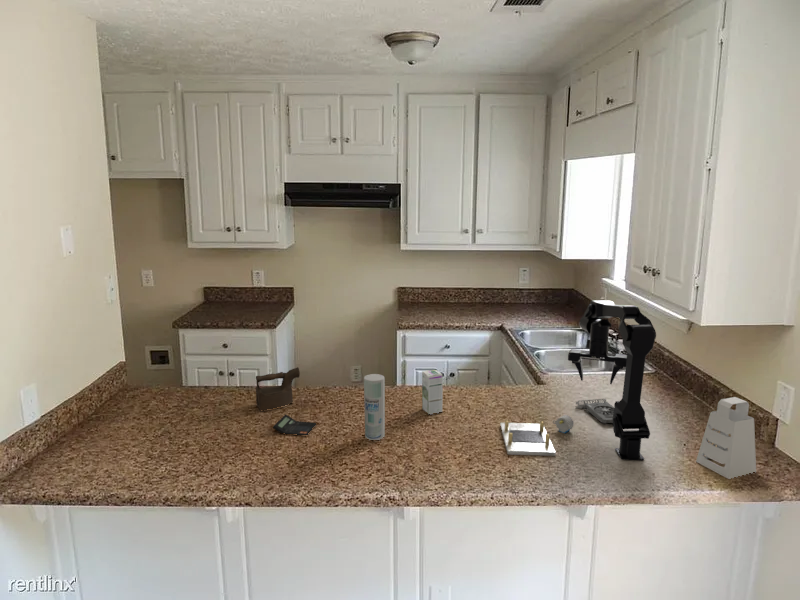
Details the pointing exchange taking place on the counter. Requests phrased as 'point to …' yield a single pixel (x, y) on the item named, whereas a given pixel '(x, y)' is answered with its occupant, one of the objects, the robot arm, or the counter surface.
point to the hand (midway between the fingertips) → (596, 382)
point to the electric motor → (564, 423)
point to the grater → (729, 440)
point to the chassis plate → (527, 439)
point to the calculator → (293, 426)
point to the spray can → (374, 406)
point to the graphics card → (598, 409)
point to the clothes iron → (276, 390)
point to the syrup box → (432, 391)
